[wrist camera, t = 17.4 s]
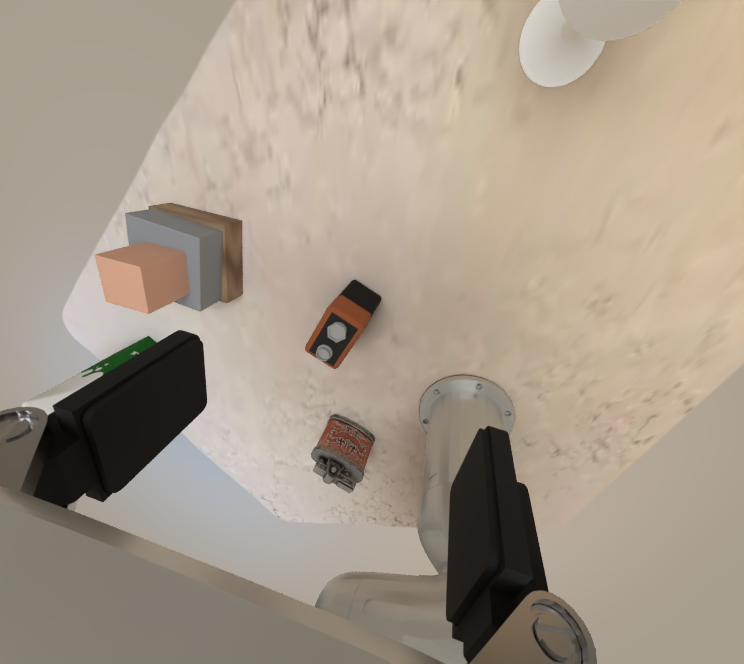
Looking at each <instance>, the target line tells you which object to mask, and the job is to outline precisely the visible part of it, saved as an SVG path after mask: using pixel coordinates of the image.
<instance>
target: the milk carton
mask: <svg viewBox="0 0 744 664" xmlns="http://www.w3.org/2000/svg"><path fill="white" fill-rule="evenodd" d="M154 344H156V342H155V341H153V340H152V339H151V338H150V337H149V336H148V337H146V338H144V339H142V340H140V341H138V342H136V343H134V344H132V345H131V346H129V347H127V348H125V349H123V350H121V351H119V352H117V353H115V354H113V355H111V356H110V357H108V358H106V359H104V360H102V361H100V362H99V363H97V364H95V365H93V366H91V367H90V368H88V369H86V370H84V371H82V372H81V373H79V374H77V375H75V376H73V377H72V378H70V379H68V380H66V381H64V382H62V383H61V384H59V385H57V386H56V387H54V388H52V389H50V390H48V391H46V392H44V393H42V394H40V395H38V396H36V397H34V398H32V399H30V400H28V401H26V402H23V404H22V407H36V408H40V409H42V410H44V411H45V412H46V414H47V415H49V414H50V413H52V412H54V409H53V406H52V405H54V404H56V403H57V402H59V401H61V400H62V399H64V398H66V397H67V396H69V395H71V394H72V393H74V392H76V391H77V390H79V389H81V388H82V387H84V386H86V385H87V384H89V383H91V382H92V381H94V380H96V379H97V378H99V377H101V376H102V375H104V374H106V373H107V372H109V371H111V370H112V369H114V368H116V367H117V366H119V365H121V364H122V363H124V362H126V361H128V360H129V359H131V358H133V357H134V356H136V355H138V354H139V353H141V352H143V351H144V350H146V349H148V348H149V347H151V346H153V345H154Z"/></svg>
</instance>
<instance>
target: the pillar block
mask: <svg viewBox="0 0 744 664" xmlns="http://www.w3.org/2000/svg"><path fill="white" fill-rule="evenodd" d="M95 258H96V262H97V266H98V270H99V274H100V278H101V282H102V287H103V291H104V295H105V299H106V302H109V303H112V304H116V305H119V306H123V307H126V308H130V309H133V310H137V311H140V312H144V313H147V314H149V313H151V312H154V311H156V310H158V309H160V308H162V307H164V306H166V305H168V304H170V303H172V302H174V301H176V300H178V299H180V298H182V297H184V296H186V295H188V294H190V287H189V278H188V269H187V259H186V252H184V251H180V250H176V249H173V248H169V247H165V246H161V245H157V244H153V243H149V242H142V243H139V244H135V245H131V246H127V247H123V248H119V249H115V250H111V251H108V252H104V253H100V254H96V255H95Z"/></svg>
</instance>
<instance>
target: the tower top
mask: <svg viewBox="0 0 744 664" xmlns="http://www.w3.org/2000/svg"><path fill="white" fill-rule="evenodd" d="M125 216H126V224H127V232H128V240H129V246H131V245H135V244H139V243H142V242H149V243H153V244H157V245H161V246H165V247H169V248H173V249H176V250H180V251H184V252H186V259H187V269H188V278H189V287H190V294H188V295H186V296H184V297H182V298H180V299H178V300H176V301H174V302H176V303H178V304H181V305H184V306H187V307H190V308H192V309H195V310H198V311H202V310H204V309H206V308H207V307H209V306H211V305H213V304H214V303H216V302H218V301H219V300H221V295H222V248H223V231H220V230H217V229H214V228H211V227H208V226H205V225H202V224H199V223H196V222H193V221H190V220H187V219H184V218H181V217H178V216H175V215H172V214H169V213H166V212H163V211H160V210H157V209H149V210H143V211H136V212H130V213H125Z"/></svg>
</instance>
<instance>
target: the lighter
mask: <svg viewBox="0 0 744 664" xmlns="http://www.w3.org/2000/svg"><path fill="white" fill-rule="evenodd" d="M374 441H375V437H374V436H373V434H371V433H370V432H369V431H368V430H366V429H365V428H363V427H362V426H360V425H359V424H357V423H356V422H354V421H352V420H350V419H348V418H345V417H343V416H340V415H338V414H333V415H331V416H330V418H329V420H328V424H327V426H326V428H325V430H324V432H323V434H322V436H321V438H320V440H319V442H318V444H317V446H316V447H315V448H314V449H313V451H312V453H311V457H312V459H313V460H314V461H316V462H317V463H316V465H315V467H314V469H313V471H314V472H315V473H316V474H318V475H320V476H322V477H323V481H324V482H325V483H327V484H330V483H334V484H336V486H338V487H340V488H341V489H343V490H345V491H347V492H348V493H351V492H353V490H354V488H355V485H356V483H359V482H361V481H362V479H363V476H364V469H365V465H366V462H367V459H368V456H369V453H370V450H371V447H372V446H373V444H374Z"/></svg>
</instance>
